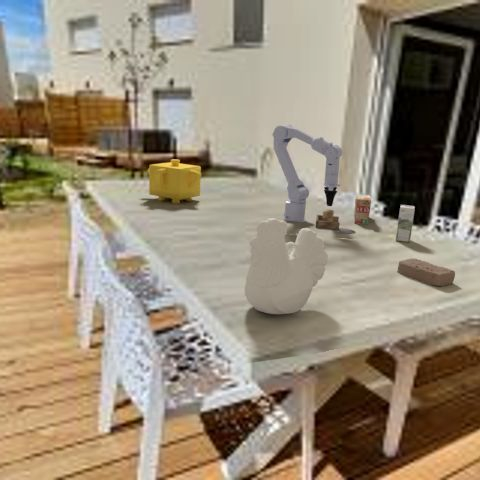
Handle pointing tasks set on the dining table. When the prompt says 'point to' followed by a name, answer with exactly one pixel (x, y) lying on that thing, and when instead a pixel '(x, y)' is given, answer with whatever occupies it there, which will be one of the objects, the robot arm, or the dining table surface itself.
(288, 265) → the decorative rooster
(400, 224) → the syrup box
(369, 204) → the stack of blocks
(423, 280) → the brick
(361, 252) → the dining table surface
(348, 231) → the slate coaster
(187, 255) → the dining table surface
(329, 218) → the oak block
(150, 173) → the cube teapot
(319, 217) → the crate
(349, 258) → the dining table surface
